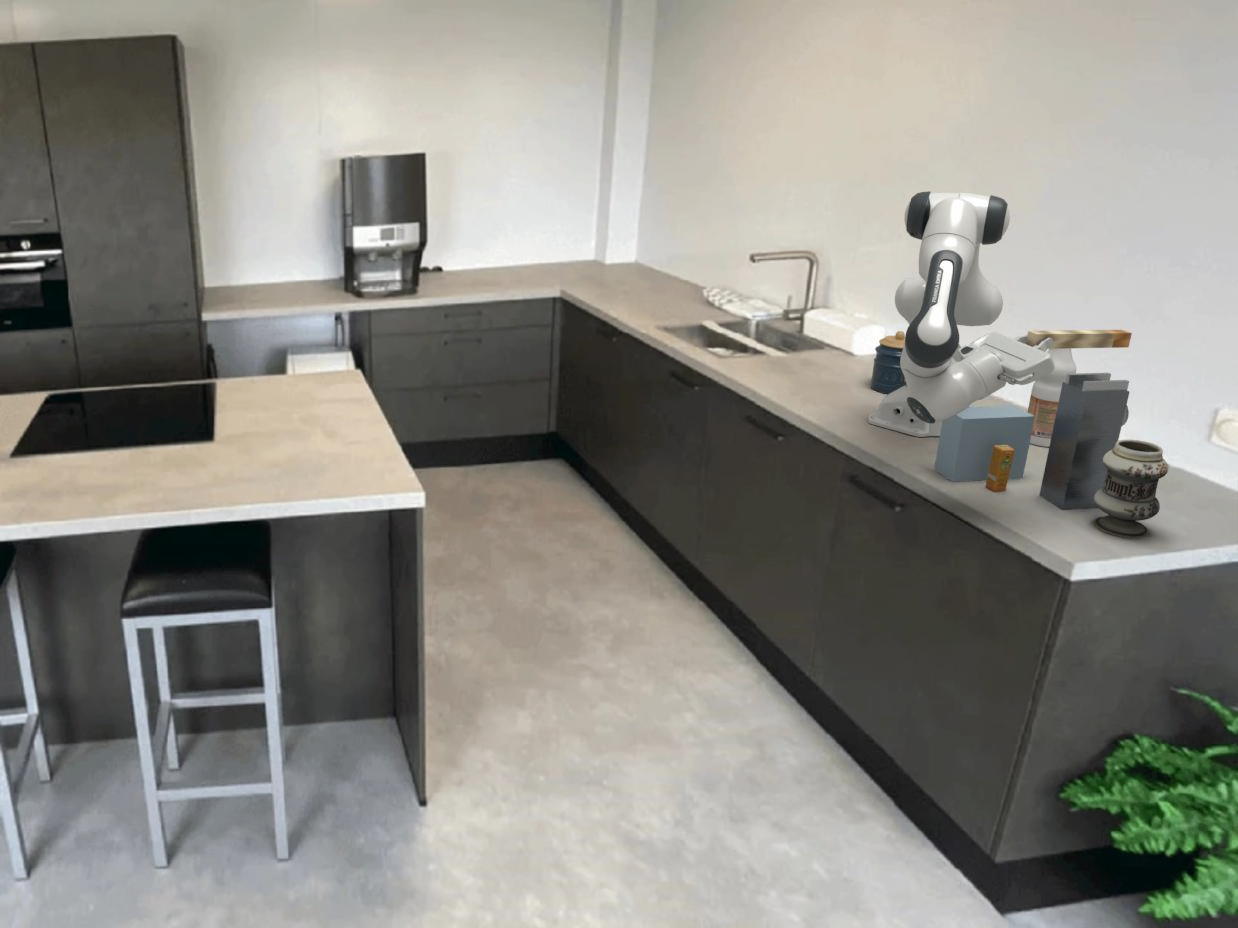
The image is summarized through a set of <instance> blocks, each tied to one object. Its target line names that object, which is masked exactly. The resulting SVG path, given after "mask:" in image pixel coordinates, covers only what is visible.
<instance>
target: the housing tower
mask: <svg viewBox="0 0 1238 928" xmlns="http://www.w3.org/2000/svg"><path fill="white" fill-rule="evenodd" d="M1111 377H1112V374H1111V373H1109V372H1086V373H1085V372H1084V373H1080V372H1079V373H1076V374H1067V376H1066V381H1065V382H1063V383H1062V388H1061V393H1060V398H1059V403H1058V408H1057V412H1056V417H1055V422H1054V427H1053V432H1052V436H1051V441H1050V446H1049V447H1048V451H1047V457H1046V462H1045V466H1044V471H1043V477H1042V480H1041V485H1040V490H1039V497H1041V498H1043V499H1045V500H1046V501H1047V502H1049V503H1051V504H1053V505H1054V506H1055V507H1057V508H1059V509H1060V510H1061V511H1064V510H1077V509H1078V510H1080V509H1081V510H1082V509H1097V508H1098V506H1097V505H1096V503H1095V501H1094V496H1095V494H1096V492H1097V491H1098V490H1100V489H1101V488H1103V486H1104V483H1105V479H1106V474H1107V468H1106V467H1105V465H1104V463H1103V457H1104V455H1105V454H1106V453H1107V452H1109V451H1110V450H1113V449H1114V447H1115V444H1116V442H1117V441H1119V438H1120V434H1121V431H1122V427H1123V426H1125V425H1126V423H1127V421H1128V418H1129V413H1130V412H1129V407H1128V405H1127V404H1128V400H1129V397H1130V396H1129V395H1130V391H1129V390H1128V388H1129V386H1130V385H1129V384H1130V381H1129V380H1127V379H1117V380H1116V379H1111ZM1098 509H1099V508H1098Z"/></svg>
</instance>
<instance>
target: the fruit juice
mask: <svg viewBox="0 0 1238 928" xmlns="http://www.w3.org/2000/svg"><path fill="white" fill-rule="evenodd" d="M1046 353H1049V354H1051V356H1052V359H1053V361H1054V365H1055V368H1054V370H1053V372H1051V373H1050V374H1048V375H1046V376H1044V377H1042V378H1040V379H1038V380H1036V381H1034V382H1033V385H1032V388H1031V392H1030V396H1029V397H1030V398H1029V401H1028V407H1027V412H1028V413H1030V414H1032V415H1033V416H1035V419H1034V424H1033V429H1032V434H1031V439H1030V444H1032V445H1033V446H1038V447H1045V448H1049V446H1050V441H1051V436H1052V432H1053V427H1054V422H1055V417H1056V412H1057V408H1058V403H1059V398H1060V393H1061V388H1062V383H1063V382H1065V381H1066V376H1067V374H1077V365H1076V363H1075V361H1074V359H1073V354H1072V353H1073V352H1072V348H1065V349H1047V351H1046Z"/></svg>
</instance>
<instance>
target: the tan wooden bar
mask: <svg viewBox="0 0 1238 928" xmlns="http://www.w3.org/2000/svg"><path fill="white" fill-rule="evenodd" d="M1027 331H1028V332H1027V334H1028V335H1027V334H1026V335H1027V340H1026V345H1029V346H1031V347H1034V346H1035V345H1037V346H1038V345H1039V344H1040V343H1041V341H1040V340H1041V339H1043V338H1045V337H1050V338H1052V339H1053V342H1054V345H1053V346H1051V347H1050V348H1048V349H1047V350H1049V349H1065V348H1071V349H1105V348H1107V349H1109V348H1110V349H1111V348H1114V349H1117V348H1118V349H1119V348H1122V349H1123V348H1130V347H1129V346H1130V342H1131V338H1132V334H1133V333H1132V332H1130V331H1127V330H1125V329H1124V330H1123V329H1078V330H1074V329H1073V330H1070V329H1069V330H1066V329H1065V330H1061V329H1060V330H1058V329H1057V330H1027Z"/></svg>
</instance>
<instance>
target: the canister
mask: <svg viewBox="0 0 1238 928" xmlns="http://www.w3.org/2000/svg"><path fill="white" fill-rule="evenodd" d="M905 336H906V333H905V332H904V331H903V330H897V331H896V333H895V335H885V337H883V338H881V339H879V342H878V343H879V345H878V346H876V347H875V348H874V350H875V352H876V354H875V357H874V358H873V367H872V375H871V379H870V388H871V389H872V390H873V391H876V392H879V393H882V394H885V395H888V394H890V393H891V392H893V391H895V390H897V389H899V388H901V387H903V386H905V382H904V379H905V377H904V374H903V373H902V371H901V367H900V359H901V354H902V350H903V347H904V343H905Z"/></svg>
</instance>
